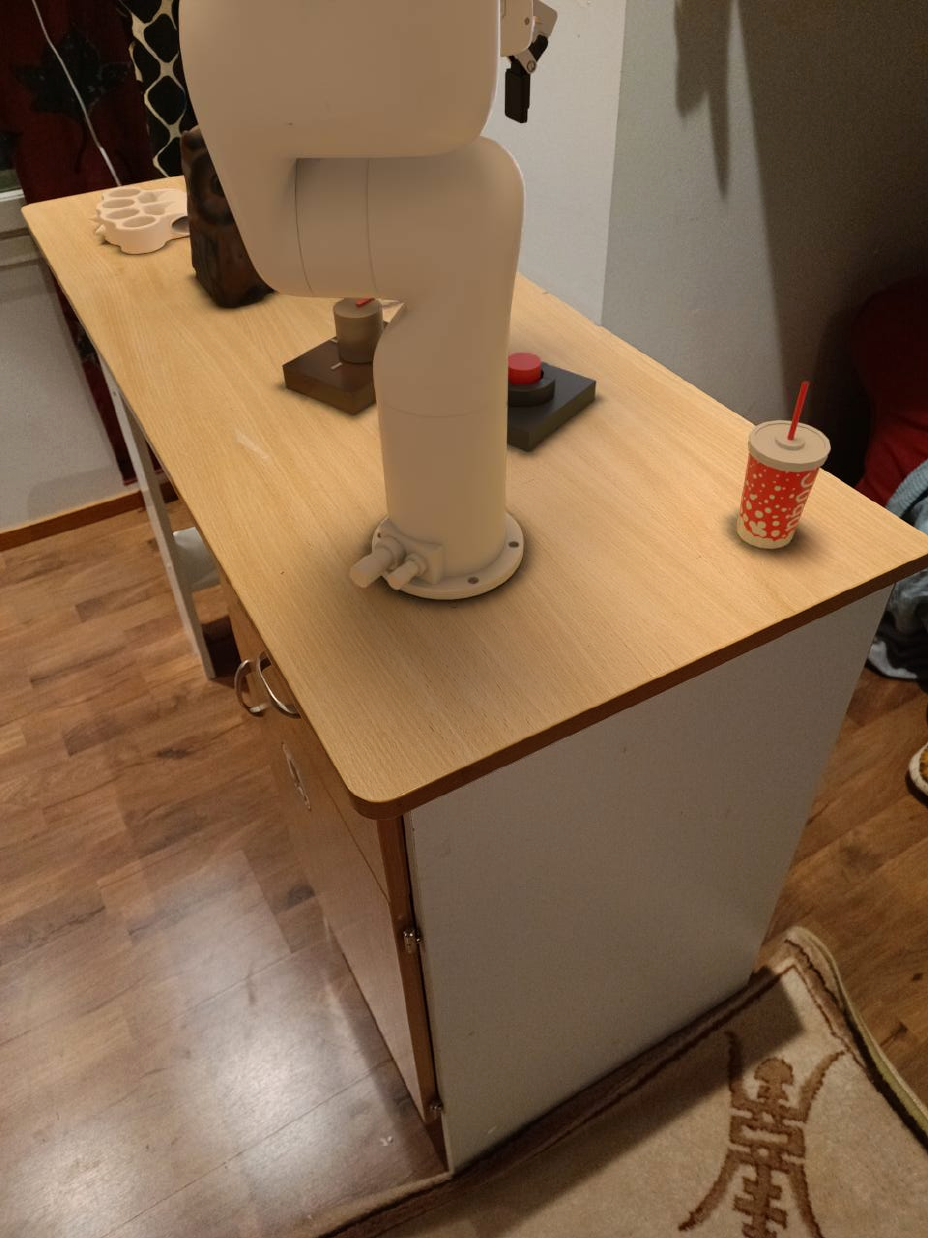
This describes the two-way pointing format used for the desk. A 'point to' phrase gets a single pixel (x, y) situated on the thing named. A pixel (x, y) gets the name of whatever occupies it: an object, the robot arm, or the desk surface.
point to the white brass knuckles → (142, 218)
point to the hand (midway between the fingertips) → (471, 127)
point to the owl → (216, 231)
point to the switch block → (545, 405)
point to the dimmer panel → (332, 378)
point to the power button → (524, 368)
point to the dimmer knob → (358, 328)
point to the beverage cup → (779, 478)
